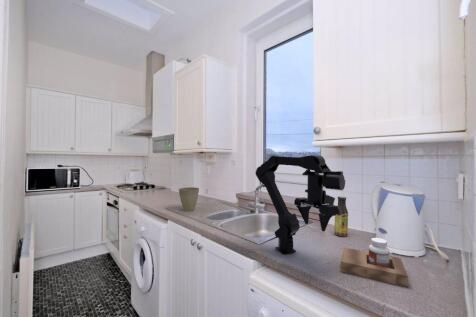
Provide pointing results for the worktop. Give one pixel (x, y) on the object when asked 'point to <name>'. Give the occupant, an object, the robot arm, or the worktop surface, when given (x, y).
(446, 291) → the worktop surface
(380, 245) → the pill bottle
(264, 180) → the robot arm
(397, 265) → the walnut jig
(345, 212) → the sauce bottle
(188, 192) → the plant pot
